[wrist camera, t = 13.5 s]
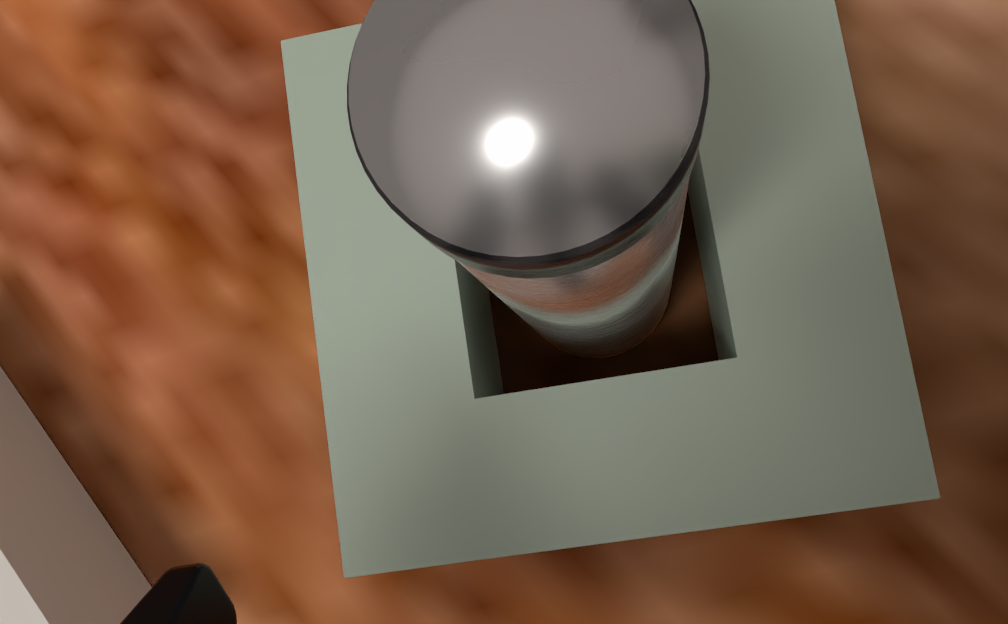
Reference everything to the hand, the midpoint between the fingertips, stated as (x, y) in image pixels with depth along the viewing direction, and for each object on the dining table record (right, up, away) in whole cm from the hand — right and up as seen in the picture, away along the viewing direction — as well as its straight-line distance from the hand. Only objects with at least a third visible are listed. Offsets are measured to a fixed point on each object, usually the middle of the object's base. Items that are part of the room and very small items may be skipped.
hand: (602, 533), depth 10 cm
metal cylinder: (+1, +3, +12) cm, 12 cm away
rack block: (+1, +3, +12) cm, 12 cm away
